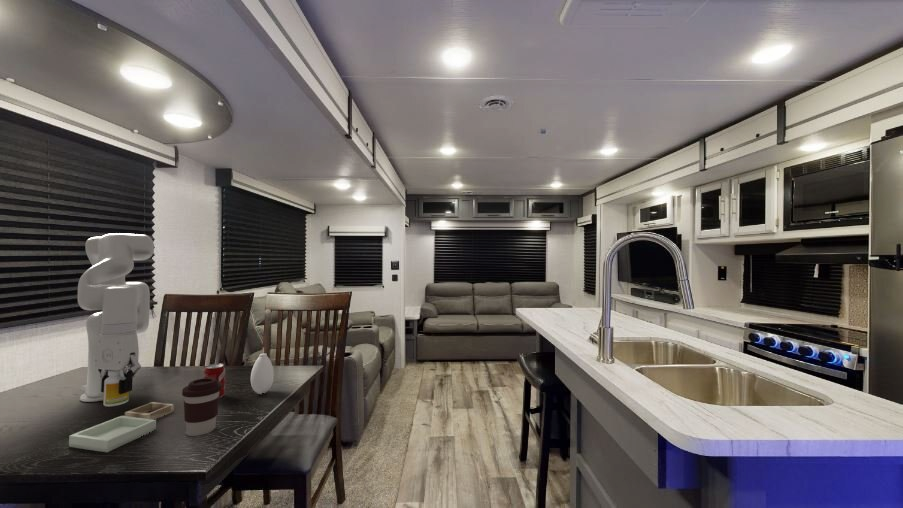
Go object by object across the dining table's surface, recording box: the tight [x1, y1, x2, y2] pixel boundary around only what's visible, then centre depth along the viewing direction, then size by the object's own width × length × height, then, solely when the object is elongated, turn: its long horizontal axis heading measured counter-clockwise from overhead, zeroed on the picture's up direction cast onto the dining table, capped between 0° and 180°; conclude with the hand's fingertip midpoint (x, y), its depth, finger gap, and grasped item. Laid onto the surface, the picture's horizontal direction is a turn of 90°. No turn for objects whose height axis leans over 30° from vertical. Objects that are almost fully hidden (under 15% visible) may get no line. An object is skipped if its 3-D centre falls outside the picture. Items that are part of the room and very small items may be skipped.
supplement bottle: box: [102, 370, 130, 407], centre depth 103 cm, size 5×5×10 cm
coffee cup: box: [181, 377, 222, 437], centre depth 108 cm, size 10×10×15 cm
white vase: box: [250, 347, 275, 395], centre depth 139 cm, size 8×8×18 cm
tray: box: [68, 415, 157, 453], centre depth 102 cm, size 13×13×3 cm
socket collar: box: [124, 401, 175, 420], centre depth 117 cm, size 9×9×2 cm
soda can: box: [203, 363, 226, 399], centre depth 133 cm, size 7×7×12 cm
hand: (116, 390), depth 103 cm, fingers closed on supplement bottle, 5 cm apart
